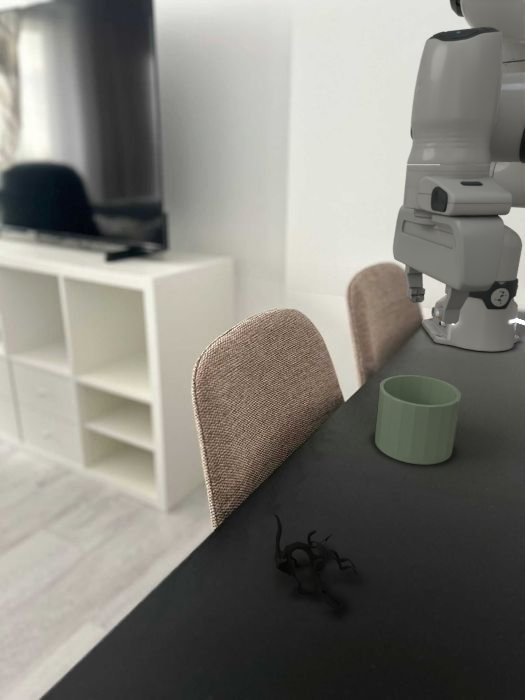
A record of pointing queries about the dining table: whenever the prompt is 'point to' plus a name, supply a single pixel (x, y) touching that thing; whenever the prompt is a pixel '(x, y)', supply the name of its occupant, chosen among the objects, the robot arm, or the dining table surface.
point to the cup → (417, 419)
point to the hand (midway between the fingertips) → (430, 311)
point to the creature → (315, 560)
